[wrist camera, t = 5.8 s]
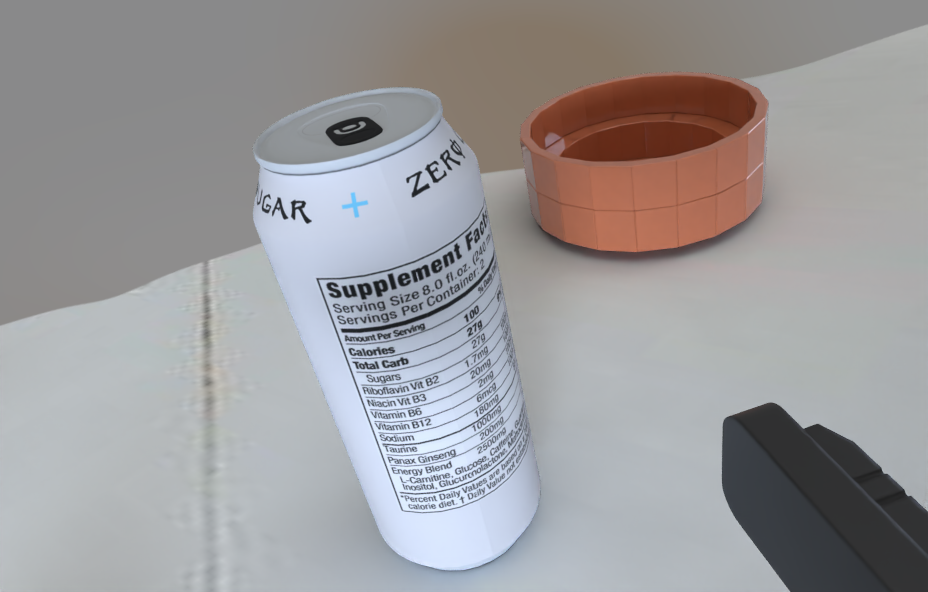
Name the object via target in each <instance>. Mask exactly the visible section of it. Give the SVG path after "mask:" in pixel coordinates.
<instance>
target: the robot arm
mask: <svg viewBox="0 0 928 592" xmlns="http://www.w3.org/2000/svg"><path fill="white" fill-rule="evenodd" d="M722 486H723V491H724V494H725V498H726V500H727V503H728V505H729V507H730V509H731V511H732V513H733V515H734V516H735V518H736V520H737V521H738V522H739V524H740V525H741V527H742V528H743V529H744V531H745V532H746V533H747V535H748V536H749V537H750V539H751V540H752V541H753V543H754V544H755V545H756V546H757V548H758V549H759V550H760V552H761V553H762V554H763V556H764V557H765V558H766V560H767V561H768V562H769V564H770V565H771V566H772V568H773V569H774V570H775V572H776V573H777V574H778V576H779V577H780V578H781V580H782V581H783V582H784V584H785V585H786V586H787V588H788V589H789V590H790V592H928V512H927V511H926V510H925V509H924V508H923V507H922V506H921V505H920V504H919V503H918V502H917V501H916V500H915V499H914V498H913V497H911V496H907V495H906V493H905V490H904V489H903V488H902V487H901V486H900V485H899V484H898V483H897V482H896V481H895V480H893V479H892V478H891V477H890V476H889V475H888V474H884V473H883V472H882V468H881V467H880V466H879V465H878V464H877V463H875V462H874V461H873V460H872V459H871V458H870V457H869V456H868V455H867V454H866V453H865V452H864V451H863V450H862V449H861V448H860V447H858V446H857V445H856V444H855V443H854V442H853V441H851V440H849V439H847V438H845V437H843V436H841V435H839V434H837V433H835V432H833V431H831V430H829V429H827V428H825V427H823V426H821V425H819V424H816V425H813V426H810V427H807V428H804V429H803V428H802V427H801V426H800V425H799V424H798V423H797V422H796V421H795V420H794V419H793V418H792V417H791V416H790V415H789V414H788V413H787V412H786V411H785V410H784V409H783V408H782V407H780V406H779V405H777V404H775V403H767V404H764V405H761V406H758V407H755V408H752V409H749V410H746V411H743V412H740V413H738V414H735V415H732V416H729V417H727V418H725V420H724V422H723V441H722Z"/></svg>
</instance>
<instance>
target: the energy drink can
mask: <svg viewBox="0 0 928 592" xmlns="http://www.w3.org/2000/svg"><path fill="white" fill-rule="evenodd" d="M442 113H443V108H442V104H441V101H440V98H439V97H437V96H436V95H435V94H434V93H432V92H429V91H427V90H423V89H418V88H407V87H397V88H381V89H372V90H367V91H361V92H355V93H351V94H347V95H343V96H339V97H335V98H332V99H328V100H325V101H322V102H319V103H316V104H314V105H311V106H308V107H306V108H303V109H301V110H299V111H296V112H294V113H292V114H290V115H288V116H286V117H285V118H282V119H280V120H279V121H277V122H276V123H274V124H273V125H271V126H270V127H268V128H267V129H266V130H265V131H264V132H262V133H261V134H260V135H259V137H258V138H257V139H256V141H255V143H254V146H253V152H254V156H255V159H256V161H257V162H258V163H259V164H260V174H259V181H258V186H257V192H256V198H255V204H254V209H253V218H254V224H255V227H256V229H257V231H258V234H259V236H260V239H261V241H262V244H263V246H264V249H265V251H266V254H267V256H268V259H269V261H270V264H271V266H272V268H273V271H274V273H275V276H276V278H277V281H278V283H279V286H280V288H281V291H282V293H283V295H284V298H285V300H286V303H287V305H288V308H289V310H290V313H291V315H292V318H293V320H294V323H295V325H296V327H297V330H298V332H299V335H300V337H301V340H302V342H303V345H304V347H305V350H306V352H307V354H308V357H309V359H310V362H311V364H312V367H313V369H314V372H315V374H316V377H317V379H318V382H319V384H320V386H321V389H322V391H323V394H324V396H325V399H326V401H327V404H328V406H329V409H330V411H331V414H332V416H333V418H334V421H335V423H336V426H337V428H338V431H339V433H340V436H341V438H342V441H343V443H344V445H345V448H346V450H347V453H348V455H349V458H350V460H351V463H352V465H353V468H354V470H355V473H356V475H357V477H358V480H359V482H360V485H361V487H362V490H363V492H364V495H365V497H366V500H367V502H368V504H369V507H370V509H371V512H372V514H373V517H374V519H375V522H376V524H377V527H378V529H379V532H380V533H381V535H382V537H383V538H384V540H385V542H386V543H387V544H388V545H389V546H390V547H391V548H392V549H393V550H394V551H395V552H396V553H397V554H399V555H401V556H402V557H404V558H406V559H407V560H409V561H412V562H415V563H418V564H421V565H424V566H429V567H432V568H435V569H441V570H449V571H452V570H466V569H470V568H474V567H478V566H481V565H483V564H486V563H488V562H490V561H492V560H494V559H495V558H497V557H499V556H500V555H502V554H503V553H504V552H505V551H507V550H508V549H509V548H510V547H511V546H512V545H513V544H514V543H515V541H516V540H517V539H518V538H519V536H520V535H521V534H522V533H523V532H524V530H525V529H526V528H527V526H528V525H529V524H530V522H531V521H532V519H533V517H534V515H535V512H536V510H537V508H538V504H539V499H540V495H541V486H540V476H539V471H538V466H537V461H536V456H535V451H534V446H533V441H532V436H531V430H530V425H529V420H528V415H527V410H526V405H525V400H524V395H523V390H522V385H521V380H520V374H519V369H518V364H517V359H516V354H515V349H514V344H513V339H512V334H511V329H510V324H509V318H508V313H507V308H506V303H505V298H504V293H503V288H502V283H501V278H500V273H499V267H498V262H497V257H496V252H495V247H494V242H493V237H492V232H491V227H490V222H489V217H488V211H487V206H486V201H485V196H484V191H483V186H482V181H481V176H480V171H479V166H478V162H477V159H476V156H475V154H474V152H473V151H472V150H471V149H470V148H469V147H468V145H467V144H466V143H465V142H464V141H463V140H462V139H461V138H460V137H459V135H458V134H457V133H456V132H455V131H454V130H453V129H452V128H451V126H450V125H449V124H448V123H447V122H446V120H445V119H444V118H443V116H442Z"/></svg>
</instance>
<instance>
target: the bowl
mask: <svg viewBox="0 0 928 592" xmlns="http://www.w3.org/2000/svg"><path fill="white" fill-rule="evenodd" d="M768 108H769V103H768V101H767V99H766V98H765V97H764V95H763V94H762V93H761V91H760V90H759V89H758V88H756V87H754V86H752V85H750V84H748V83H746V82H743V81H741V80H739V79H735V78H730V77H725V76H721V75H715V74H711V73H710V74H709V73H694V72H664V73H646V74H638V75H631V76H625V77H619V78H613V79H608V80H604V81H601V82H597V83H593V84H589V85H586V86H582V87H579V88H576V89H574V90H572V91H569V92H567V93H564V94H562V95H559V96H557V97H555V98H553V99H551V100H549V101H547V102H546V103H544V104H543V105H541V106H540V107H538V108H537V109H535V110H534V111H532V112H531V113H530V115H529V116H528V117H527V118H526V120H525V121H524V122H523V123H522V124H521V131H520V143H521V149H522V155H523V162H524V168H525V174H526V181H527V187H528V193H529V200H530V206H531V212H532V215H533V217H534V218H535V219H536V221H537V222H538V224H539V225H540V226H541V228H542V229H543V230H544V231H546V232H547V233H549V234H551V235H553V236H555V237H556V238H558V239H560V240H562V241H564V242H567V243H570V244H574V245H579V246H583V247H587V248H591V249H595V250H602V251H623V252H643V251H651V250H660V249H668V248H677V247H681V246H685V245H688V244H691V243H695V242H698V241H702V240H705V239H708V238H712V237H715V236H717V235H719V234H721V233H723V232H725V231H727V230H728V229H730V228H732V227H734V226H736V225H738V224H740V223H741V222H743V221H744V220H746V219H747V218H748V217H749V216H750V215H751V214H752V213H753V212H754V211H755V209H756V208H757V207H758V206H759V205H760V204H761V202H762V199H763V193H764V187H765V172H766V151H767V147H766V146H767V129H768Z"/></svg>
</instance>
